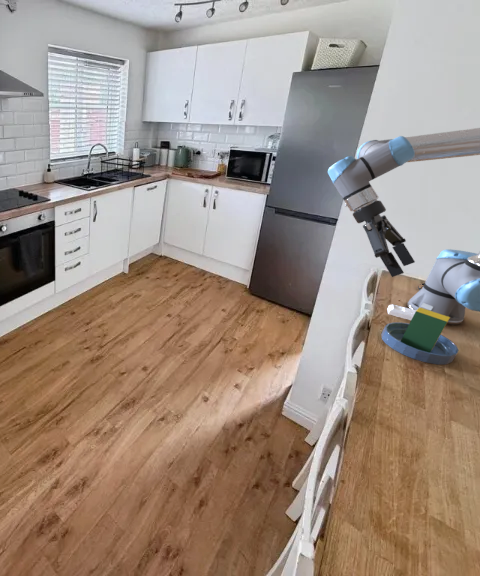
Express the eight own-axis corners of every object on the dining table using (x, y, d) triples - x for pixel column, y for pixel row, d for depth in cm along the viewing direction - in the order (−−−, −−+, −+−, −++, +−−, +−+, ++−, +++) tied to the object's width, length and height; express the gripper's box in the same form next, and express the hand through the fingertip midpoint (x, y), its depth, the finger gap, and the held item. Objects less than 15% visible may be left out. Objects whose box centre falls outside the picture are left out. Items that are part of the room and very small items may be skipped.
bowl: (389, 325, 120) (394, 316, 118) (457, 351, 109) (463, 341, 107) (373, 343, 110) (377, 334, 108) (445, 373, 99) (451, 363, 97)
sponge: (403, 338, 113) (419, 307, 108) (432, 349, 108) (450, 317, 103) (399, 343, 110) (415, 311, 105) (428, 354, 105) (447, 322, 100)
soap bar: (420, 324, 122) (423, 317, 121) (387, 315, 126) (390, 308, 125) (418, 317, 126) (422, 311, 125) (386, 309, 130) (390, 303, 129)
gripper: (364, 207, 120) (399, 265, 117) (337, 218, 105) (377, 285, 102) (390, 194, 114) (428, 254, 111) (365, 204, 99) (408, 274, 96)
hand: (404, 269), depth 106 cm, fingers open, 13 cm apart
